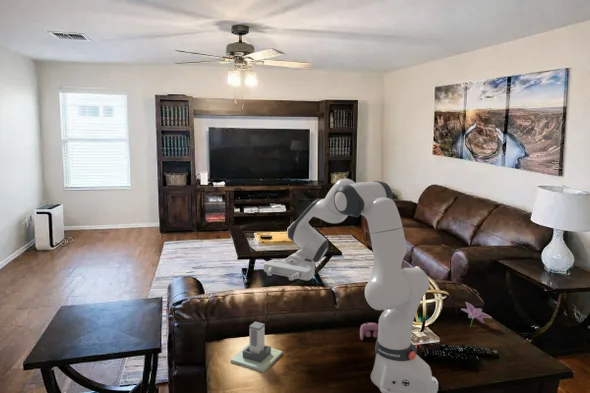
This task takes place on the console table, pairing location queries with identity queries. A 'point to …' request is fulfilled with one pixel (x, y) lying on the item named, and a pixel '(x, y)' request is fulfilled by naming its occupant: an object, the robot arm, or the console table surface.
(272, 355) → the board
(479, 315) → the lily
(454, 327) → the console table surface
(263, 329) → the plug
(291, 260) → the robot arm
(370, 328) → the video game controller
